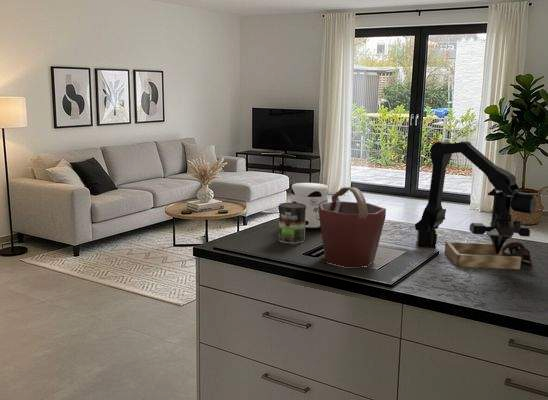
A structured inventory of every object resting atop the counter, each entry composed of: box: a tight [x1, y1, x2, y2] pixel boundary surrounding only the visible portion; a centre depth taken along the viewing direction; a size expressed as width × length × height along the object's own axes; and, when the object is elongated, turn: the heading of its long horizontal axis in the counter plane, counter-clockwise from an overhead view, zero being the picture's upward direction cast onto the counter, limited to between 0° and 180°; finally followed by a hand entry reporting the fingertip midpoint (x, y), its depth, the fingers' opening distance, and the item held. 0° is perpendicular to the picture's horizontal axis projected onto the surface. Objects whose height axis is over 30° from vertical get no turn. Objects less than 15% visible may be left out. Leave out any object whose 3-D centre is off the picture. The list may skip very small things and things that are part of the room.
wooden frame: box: [444, 241, 522, 270], centre depth 191 cm, size 21×17×4 cm
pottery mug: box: [500, 241, 533, 266], centre depth 190 cm, size 12×10×8 cm
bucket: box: [319, 186, 387, 267], centre depth 185 cm, size 24×22×25 cm
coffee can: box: [278, 202, 306, 244], centre depth 210 cm, size 10×10×14 cm
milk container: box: [290, 182, 329, 230], centre depth 232 cm, size 17×17×18 cm
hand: (496, 253), depth 190 cm, fingers closed
